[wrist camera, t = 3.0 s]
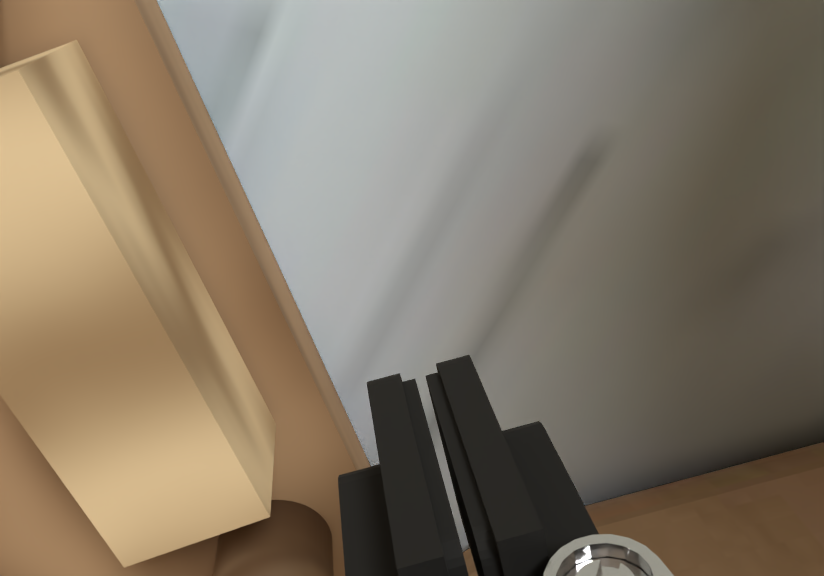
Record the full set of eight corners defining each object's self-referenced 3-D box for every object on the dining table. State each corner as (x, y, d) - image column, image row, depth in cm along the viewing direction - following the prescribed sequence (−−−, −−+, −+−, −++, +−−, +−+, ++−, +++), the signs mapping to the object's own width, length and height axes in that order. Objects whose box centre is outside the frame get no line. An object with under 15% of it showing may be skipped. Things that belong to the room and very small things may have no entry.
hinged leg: (-82, 98, 15) (-181, 143, 12) (76, 39, 15) (18, 69, 12) (152, 467, 20) (124, 567, 17) (275, 423, 19) (269, 517, 16)
